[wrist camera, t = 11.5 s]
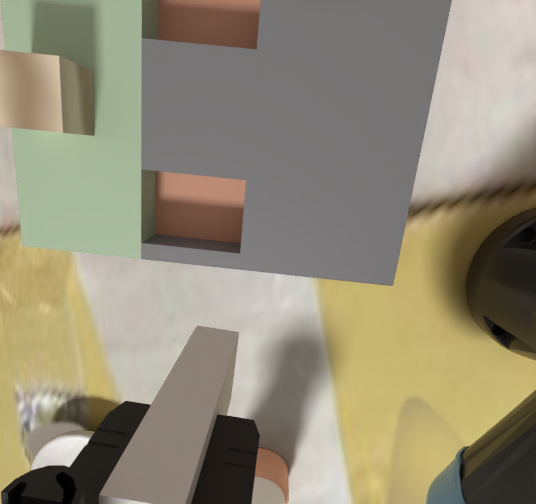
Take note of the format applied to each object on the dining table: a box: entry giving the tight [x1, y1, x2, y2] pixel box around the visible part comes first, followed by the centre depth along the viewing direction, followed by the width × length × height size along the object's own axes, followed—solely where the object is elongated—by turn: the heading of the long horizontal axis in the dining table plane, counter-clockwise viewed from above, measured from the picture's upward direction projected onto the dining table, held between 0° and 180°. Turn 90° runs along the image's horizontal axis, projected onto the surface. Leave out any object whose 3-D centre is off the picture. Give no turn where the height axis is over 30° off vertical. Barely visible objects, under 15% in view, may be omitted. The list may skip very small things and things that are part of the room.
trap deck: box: [0, 0, 452, 286], centre depth 31 cm, size 34×26×4 cm
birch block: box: [0, 50, 94, 136], centre depth 27 cm, size 5×5×4 cm
